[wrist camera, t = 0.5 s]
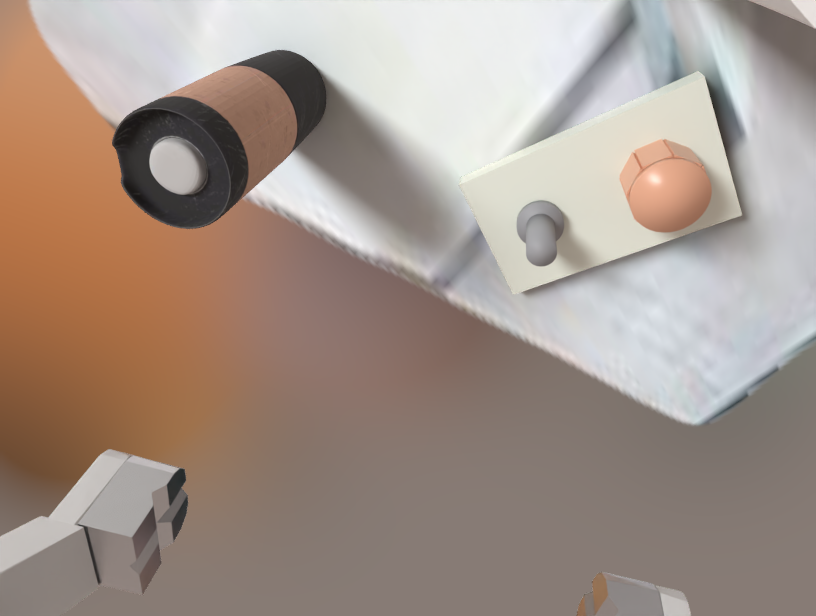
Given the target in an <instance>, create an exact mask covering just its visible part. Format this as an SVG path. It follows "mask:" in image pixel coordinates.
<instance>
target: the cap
mask: <svg viewBox="0 0 816 616" xmlns="http://www.w3.org/2000/svg"><path fill="white" fill-rule="evenodd" d="M634 151H635V153H634V152H632V153H631V155H630V157H629V159H628V161H627V162H626V164H625V166H624V168H623V170H622V172H621V174H620V175H619V176H620V178H619V179H620V182H621V185H622V188H623V190H624V193H625V196H626V199H627V201H628V204H629V207H630V209H631V212H632V215H633V217H634V220H636V222H638V223H639V224H641V225H642V226H643V227H645V228H647V229H649V230H652V231H655V232H664V233H666V232H674V231H678V230H681V229H684V228H686V227H688V226H690V225H691V224H693V223H694V222H695V221H697V220H698V219H699V218H700V217H701V216H702V215H703V213H704V212H705V211H706V209H707V207H708V205H709V203H710V200H711V194H712V187H711V183H710V180H709V178H708V176H707V174H706V171H705V168H704V166H703V164H702V163H701V162H700V160H699V159H698V158H697V157H696V155H695V154H694V153H693V151H692V150H691V149H690V148H689V147H686V146H683V145H680V144H678V143H675V142H672V141H669V140H667V139H664V140H662V139H660V140H657V141H655V142H653V143H650V144H648V145H645V146H643V147H641V148H638V149H636V150H634Z"/></svg>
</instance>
